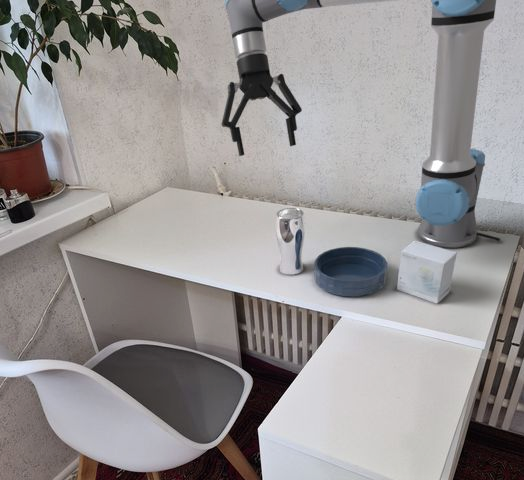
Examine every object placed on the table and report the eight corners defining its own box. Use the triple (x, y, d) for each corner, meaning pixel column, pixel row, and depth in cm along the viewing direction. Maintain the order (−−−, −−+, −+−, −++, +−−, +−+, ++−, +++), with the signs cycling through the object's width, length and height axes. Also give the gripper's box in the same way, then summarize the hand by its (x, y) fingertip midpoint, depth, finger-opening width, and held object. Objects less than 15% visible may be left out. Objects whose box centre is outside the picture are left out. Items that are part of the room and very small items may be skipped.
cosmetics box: (395, 290, 119) (400, 249, 113) (409, 279, 123) (414, 239, 117) (437, 304, 114) (444, 262, 107) (450, 292, 117) (458, 251, 111)
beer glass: (302, 276, 127) (302, 219, 118) (275, 275, 128) (273, 218, 119) (306, 263, 132) (306, 207, 123) (280, 262, 134) (278, 207, 124)
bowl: (385, 264, 130) (387, 248, 127) (385, 300, 116) (387, 283, 114) (318, 261, 133) (318, 245, 130) (310, 296, 119) (310, 279, 117)
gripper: (295, 53, 127) (308, 143, 134) (198, 68, 122) (217, 160, 129) (305, 44, 120) (318, 140, 127) (202, 60, 115) (222, 158, 122)
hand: (267, 150), depth 128 cm, fingers open, 13 cm apart
